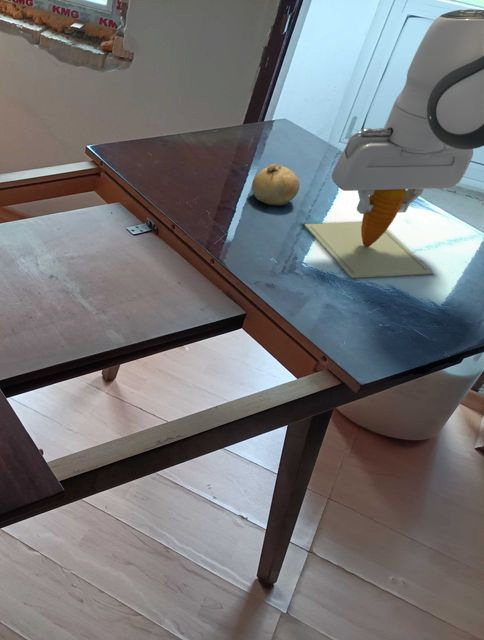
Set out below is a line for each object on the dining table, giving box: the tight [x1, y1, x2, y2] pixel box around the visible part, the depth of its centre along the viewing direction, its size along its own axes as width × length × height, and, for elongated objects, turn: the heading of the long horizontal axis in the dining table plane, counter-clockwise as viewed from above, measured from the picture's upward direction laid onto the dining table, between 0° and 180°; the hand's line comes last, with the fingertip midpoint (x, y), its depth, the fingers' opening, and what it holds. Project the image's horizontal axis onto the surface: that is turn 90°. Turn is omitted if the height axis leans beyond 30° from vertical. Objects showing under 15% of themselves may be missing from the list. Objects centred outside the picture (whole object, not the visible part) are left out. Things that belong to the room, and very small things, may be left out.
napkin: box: [304, 221, 433, 279], centre depth 114 cm, size 16×14×1 cm
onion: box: [251, 162, 301, 206], centre depth 123 cm, size 8×8×7 cm
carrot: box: [361, 189, 407, 247], centre depth 109 cm, size 5×5×15 cm
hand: (380, 211), depth 110 cm, fingers closed on carrot, 5 cm apart
